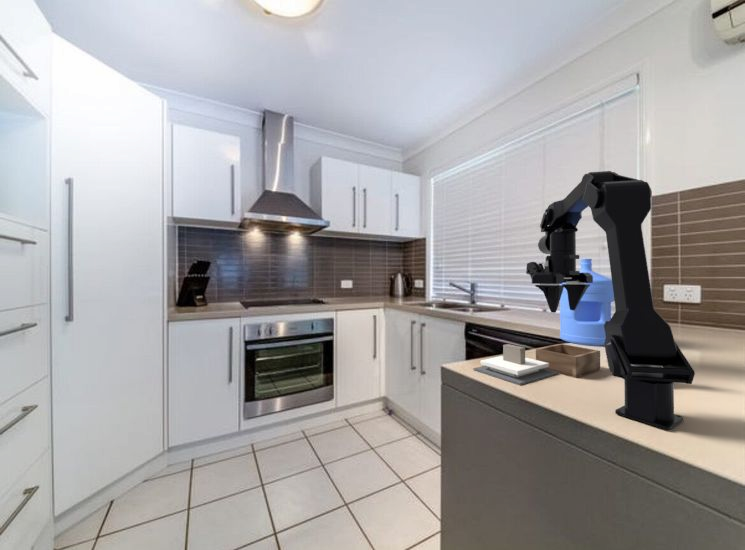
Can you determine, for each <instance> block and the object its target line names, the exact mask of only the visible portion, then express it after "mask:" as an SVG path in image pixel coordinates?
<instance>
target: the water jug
mask: <svg viewBox="0 0 745 550" xmlns="http://www.w3.org/2000/svg"><path fill="white" fill-rule="evenodd" d="M579 260H580V270H578V271H579V272H580V273H590V274H591V275H592V276H593V283H584V284H590V286H589V287H588V288H587V290H586V292H585V293H584V295H583V296H582V298H581V300H580V302H579V304H578V305H577V307H576V309H575V310H570V307H569V301H568V293H567V290H566V289H565V288H563V292H562V295H561V298H560V302H559V318H560V319H559V321H560V325H559V327H560V330H559V339H561V340H562V341H564V342H567V343H571V344H577V345H583V346H592V347H593V346H594V347H605V345H604V343H605V339H606V335H605V329H604V324H605V322H606V321H610V320H611V318H612V302H613V303H614V302H615V300H614V292H613V285H612V278H610V277H608V276H605V275H603V274H600V273H598V272H595V271H593V264H592V261H593V259H592V258H582V259H581V258H579ZM562 284H566V283H562ZM562 284H559V285H562Z"/></svg>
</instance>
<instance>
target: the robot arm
mask: <svg viewBox="0 0 745 550" xmlns="http://www.w3.org/2000/svg"><path fill="white" fill-rule="evenodd" d="M652 193H653V191H652V188H651V187H650V184H649V182H648V181H645V180H642V179H637V178H633V177H628V176H625V175H621V174H618V173H616V171H615V172H614V171H611V170H604V171H601V170H600V171H590V172H588V173H585V174H583V176H582V178H581V181H580V182H579V183H578V184H577V185H576V186H575V187H574V188H573V189H572V190H571V191H570V192H569V193H568V195H567V196H566V197H564V198H563V199H560V200H557V201H554V202H552V203H550V204H549V205H548V206H547V208H546V209H545V210H544V213H543V215H542V219H541V222H540V224H539V227H540V232H541V233H545V234H544V236H542V237H541V238H540V239H539V241H538V242H537V247H538V250H539V251H540V252H541V253H543V254H545V255H546V257H545V261H544V262H541V263H540V262H539V263H537V261H530V262H527V263H526V271H525V273H526V274H527V275H529V276H530V278H531V284H534V286H535V287H536V288H538V289H539V290H541V292H542V293H543V295H544V297H545V300H546V302H547V305H548V307H549V311H550V312H551V313H556V312H557V310H558V307H559V306H560V298H561V295H562V292H563V288H565V289H566V290H567V293H568V301H569V307H570V310H575V309H576V307H577V305H578V304H579V302H580V300H581V298H582V296H583V295H584V293H585V292H586V290H587V288H588V287H589V286H590V284H584V283H593V276H592V275H591V274H590V273H580V272H579V271H580V270H577V260H580V255H579V254H576V252H577V251H576V250H577V249H576V248H577V247H576V245H577V244H576V243H577V241H576V240H577V237H576V236H577V235H576V234H577V233H576V232H579V231H578V230H579V229H578V227H577V226H578V223H579V222H580V221H581V219H582V218H583V215H582V213H583V211H585V209H587V208H590V209H591V210H590V211H591V216H592V219H593V221H594V222H595V223H596V224H597V225H598V226H599V228H601V229H602V230H603V231H604V232H605V237H606V243H607V252H608V260H609V266H610V269H609V270H610V274H611V275H610V276H611V279H612V285H613V292H614V300H615V301H614V306H615V311H614V313H613V314H612V315H611V320H610V321H606V322H605V324H604V329H605V335H606V339H605V343H604V345H605V346H604V349H605V355H606V356H605V357H606V362H607V366H608V368H609V372H610V373H611V376H613V377H615V378H616V377H617V378H620V379H623V381H624V382H623V383H624V405H622V406H620V407H618V408H616V409H615V410H614V411H615V414H616V415H619V416H622V417H626V418H629V419H632V420H635V421H639V422H641V423H644V424H647V425H650V426H654V427H656V428H660V429H663V430H666V431H670V430H672V429H673V428H675V427H676V426H678V425H679V424H680V423H682V422H683V421H684V416H682V415H680V414H675V403H674V402H675V399H674V398H675V397H674V396H675V395H674V394H675V391H674V390H675V389H674V387H675V385H674V383H675V384H676V383H677V384H687V385H692V384H693V381H694V379H695V375H696V372H695V370H694V369H693V367H692V365H691V364H690V363H689V361H688V359H687V358H686V356H685V355H684V353H683V352H682V350H681V349H680V347H679V346H678V344H677V343H676V340H675V338H674V334H673V331H672V327H671V326H670V325H669V323H668V322H667V321H666V320H665V319H664V318H663V317H662V316H661V315H660V314H659V313H658V312H657V311H656V310H655V306H654V301H653V300H654V299H653V295H652V286H651V281H650V274H649V268H648V261H647V254H646V248H645V241H644V235H643V230H642V228H643V227H642V224H643V222H644V221H645V219H646V218H647V216H648V214H649V213H650V211H651V210H652V196H653V195H652ZM562 283H566V284H562ZM560 284H562V285H560ZM631 365H649V366H662V367H663V368H662V367H642V366H631Z"/></svg>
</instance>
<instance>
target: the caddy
mask: <svg viewBox="0 0 745 550" xmlns="http://www.w3.org/2000/svg"><path fill="white" fill-rule="evenodd" d="M535 360H538V361H542V362H546V363H549V367H546V368H544V369H548V370H552V371H556V372H558V374H560V375H563V376H568V377H571V378H581V377H583V376H587V375H589V374H592V373H595V372H597V371H601V350H598V349H597V350H596V349H592V348H587V347H583V346H582V347H581V346H574V345H569V344H563V343H557V344H554V345H548V346H544V347H538V348H535Z"/></svg>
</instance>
